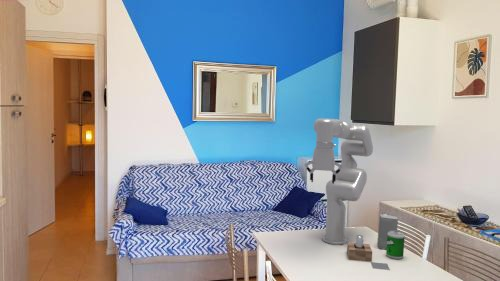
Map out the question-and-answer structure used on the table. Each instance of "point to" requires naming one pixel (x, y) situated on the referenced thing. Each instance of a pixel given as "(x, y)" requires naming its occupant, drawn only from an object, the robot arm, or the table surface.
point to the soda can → (395, 244)
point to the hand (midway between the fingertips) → (322, 182)
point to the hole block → (359, 252)
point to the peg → (359, 241)
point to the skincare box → (385, 229)
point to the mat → (380, 266)
